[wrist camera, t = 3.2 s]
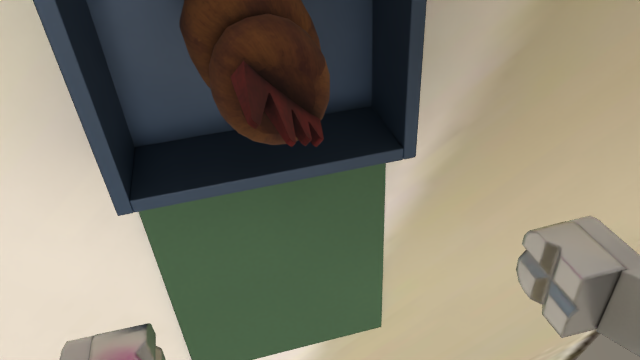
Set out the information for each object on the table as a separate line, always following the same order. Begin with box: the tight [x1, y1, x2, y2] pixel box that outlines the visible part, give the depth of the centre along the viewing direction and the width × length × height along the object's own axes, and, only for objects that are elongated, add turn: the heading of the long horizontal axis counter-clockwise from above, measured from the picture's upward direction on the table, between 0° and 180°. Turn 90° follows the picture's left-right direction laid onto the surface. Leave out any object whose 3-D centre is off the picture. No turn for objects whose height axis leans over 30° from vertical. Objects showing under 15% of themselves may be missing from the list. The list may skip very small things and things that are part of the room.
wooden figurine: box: [179, 0, 330, 147], centre depth 21 cm, size 7×6×15 cm
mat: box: [139, 163, 386, 360], centre depth 38 cm, size 17×20×1 cm
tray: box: [33, 0, 427, 216], centre depth 24 cm, size 17×16×6 cm
